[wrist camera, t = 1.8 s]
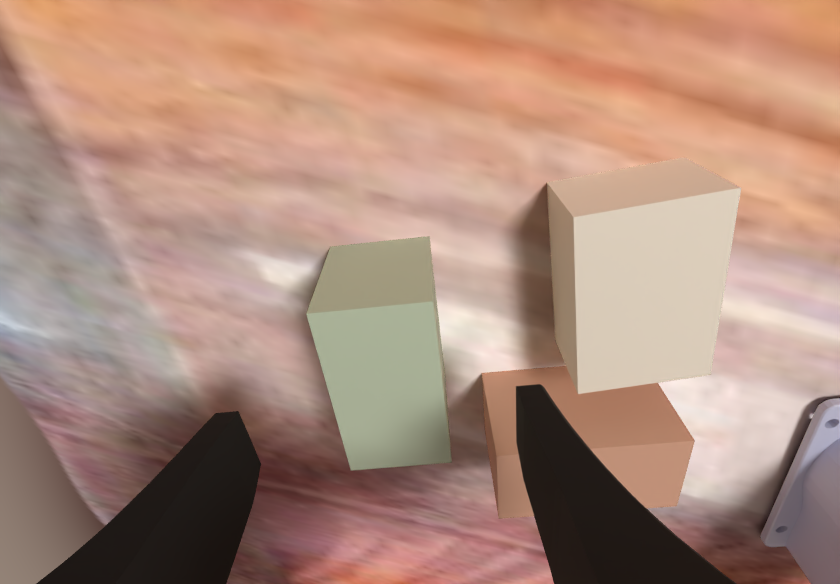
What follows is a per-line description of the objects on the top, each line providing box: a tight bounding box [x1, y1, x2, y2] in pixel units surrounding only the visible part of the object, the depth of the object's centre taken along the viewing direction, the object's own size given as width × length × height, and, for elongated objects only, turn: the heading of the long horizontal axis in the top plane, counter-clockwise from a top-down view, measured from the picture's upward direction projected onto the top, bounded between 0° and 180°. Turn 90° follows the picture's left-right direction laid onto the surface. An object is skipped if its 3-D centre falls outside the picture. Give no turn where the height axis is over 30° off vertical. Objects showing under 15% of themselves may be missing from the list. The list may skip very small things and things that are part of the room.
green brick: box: [306, 236, 452, 470], centre depth 15 cm, size 6×3×4 cm, turn 6°
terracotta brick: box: [482, 366, 695, 519], centre depth 17 cm, size 6×3×4 cm, turn 96°
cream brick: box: [547, 157, 741, 394], centre depth 14 cm, size 6×4×3 cm, turn 11°
